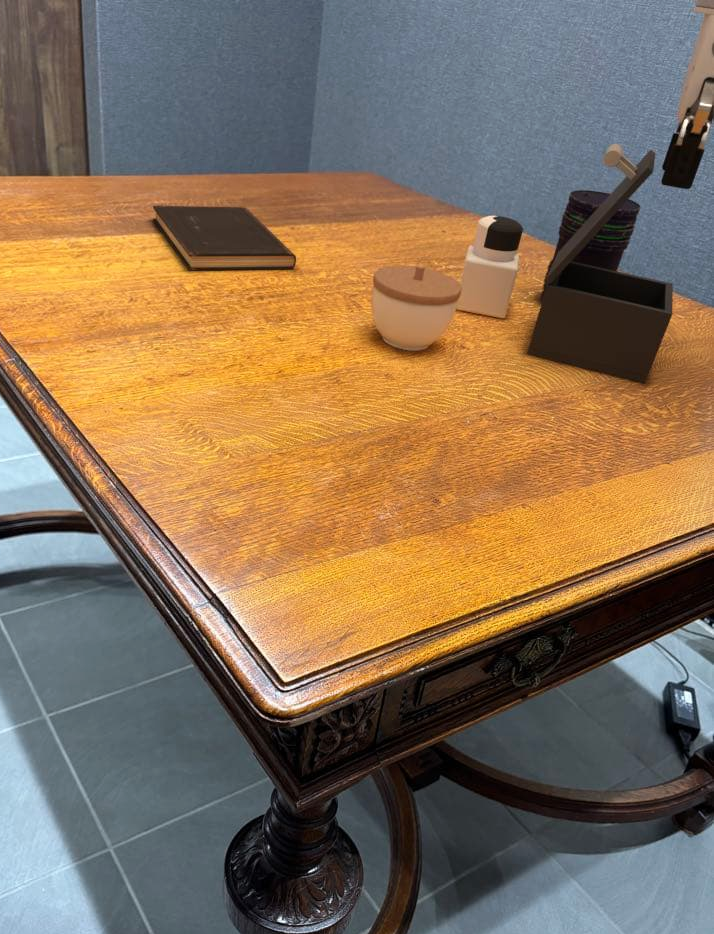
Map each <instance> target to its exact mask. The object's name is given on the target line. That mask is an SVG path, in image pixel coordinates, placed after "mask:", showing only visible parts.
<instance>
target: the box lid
mask: <svg viewBox="0 0 714 934" xmlns="http://www.w3.org/2000/svg"><path fill="white" fill-rule="evenodd" d="M623 152H624V149H623V146H622V145H620V143H613V144H611V145H609V146H608V148H607V149H606V152H605V154H604V156H603V163H604V165H605V166H606V167H608V168H614V167H616V168H617V169H618V170H619V171H620V172H621V173H622V174H624V176H625V178H624V179H623V180H622V181H621V182H620V183H618V185H617V186H616V187H615V188H614V189H613V191H612V192H611V193H609V194H610V195H609V196H608V197H607V199H606V200H605V201H604V202H603V203H602V204H601V205H600V206H599V208H598V209H597V210H596V211H595V212H594V213H593V214H592V215H591V216H590V218H589V219H588V220H587V221H586V222H585V223H584V224H583V225H582V226H581V228H580V229H579V230H578V231H577V232H576V233H575V234H574V235H573V236H572V238H571V239H570V240H569V241H568V242H567V243H566V244H565V245H564V246H563V248H562V249H561V250H560V251H559V252H558V254H557V256H556V258H555V260H554V262H553V265H552V267H551V269H550V271H549V273H548V276H547V278H546V280H547V281H548V282H549V283H552V282H553V280H554V279H555V278H556V277H557V276H558V275H559V274H560V273H561V272H562V271H563V270H564V268H565V267H566V266H567V265H568V264H569V263H570V262H571V261H572V260H573V259H574V258H575V257H576V255H577V254H578V253H579V252H580V251H581V250H582V249H583V248H584V247H585V246H586V245H587V243H588V242H589V241H590V240H591V239H592V238H593V237H594V236H595V235H596V234H597V233H598V232H599V230H600V229H601V228H602V227H603V226H604V225H605V224H606V223H607V222H608V221H609V220H610V218H611V217H612V216H613V215H614V214H615V213H616V212H617V211H618V210H619V209H620V208H621V207H622V205H623V204H624V203H625V202H626V201H627V200H628V199H630V198H631V197H632V196H633V195H634V194H635V193H636V192H637V190H638V189H639V188H640V187H641V186H642V185H643V184H644V183H645V182H646V181H647V179H649V177H650V176H651V175H652V174H653V172H654V169H655V160H656V152H655V151H654V150H652V149H650V150H649V151H648V152H647V153H646V154H645V155H644V156H643V157H642V158H641V160H639V161H638V163H637V164H636V165H635V164H634V163H632V162H631V161H630V160H629V159H628V158H627V157H626V156H624V155H623Z"/></svg>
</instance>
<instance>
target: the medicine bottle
mask: <svg viewBox="0 0 714 934" xmlns="http://www.w3.org/2000/svg"><path fill="white" fill-rule="evenodd" d="M523 233H524V227H523V225H522V224H521V223H519V221H517V220H515V219H513V218H510V217H507V216H501V215H487V216H484V217H481V218H480V219H479V220H478V222H477V227H476V231H475V235H474V240H473V243H472V245H469V246H468V248H467V252H466V256H465V260H464V264H463V268H462V273H461V276H460V277H461V278H460V281H459V284H460V285H461V287H462V291H461V295H460V298H459V299H458V304H457V307H456V311H461V312H467V313H471V314H472V313H473V314H478V315H483V316H488V317H493V318H498V319H505V318H506V317H507V312H508V309H509V306H510V301H511V297H512V294H513V291H514V286H515V283H516V279H517V275H518V273H519V262H520V261H519V259H520V255H519V254H518V250H519V248H520V243H521V239H522V235H523Z"/></svg>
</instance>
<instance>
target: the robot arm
mask: <svg viewBox="0 0 714 934" xmlns="http://www.w3.org/2000/svg"><path fill="white" fill-rule="evenodd" d="M692 13H697V14H702V15H704V16H703V20H702V23H701V26H700V28H699V32H698V35H697V38H696V41H695V43H694V47H693V51H692V53H691V57H690V60H689V64H688V66H687V70H686V74H685V78H684V80H683V83H682V84H683V85H682V88H681V92H680V97H679V102H678V107H677V110H676V111H677V112H676V118H677V120H678V124H677V127H676V130H675V132H673V133H672V137H671V139H670V142H669V145H668V148H667V151H666V154H665V156H664V160H663V164H662V167H661V168H662V171H663V173H662V174H663V175H662V177H661V182H660V183H661V185H663V186H666V187H672V188H678V189H683V190H690V189H691V188H692V186H693V184H694V181H695V178H696V175H697V174H698V170H699V168H700V164H701V161H702V159H703V156H704V153H705V148H704V147H705V145H706V142H707V138H708V136H709V131H710V129H711V125H712V123H713V122H714V0H696V3H695V6H694V8H693V11H692Z"/></svg>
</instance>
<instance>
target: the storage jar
mask: <svg viewBox="0 0 714 934" xmlns="http://www.w3.org/2000/svg"><path fill="white" fill-rule="evenodd" d="M610 194H611V193H609V192H603V191H596V190H585V189H583V190H581V189H579V190H572V191H571V192H570V193H569V196H568V202H567V204H566V206H565V211H564V212H563V214H562V217H561V223H560V226H559V228H558V239H557V243H556V247H555V250H554V253H553V257H552V259H551V260H550V261H549V263H548V265H547V271H546V273H545V276H544V279H543V283H544V284H543V286H542V292H541V293H540V295H539V301H540V303H542V300H543V297H544V294H545V290H546V287H547V284H548V281H547V280H546V278H547V276H548V273H549V271H550V269H551V267H552V265H553V262H554V260H555V258H556V256H557V254H558V252H559V251H560V250H561V249H562V248H563V246H564V245H565V244H566V243H567V242H568V241H569V240H570V239H571V238H572V236H573V235H574V234H575V233H576V232H577V231H578V230H579V229H580V228H581V226H582V225H583V224H584V223H585V222H586V221H587V220H588V219H589V218H590V216H591V215H592V214H593V213H594V212H595V211H596V210H597V209H598V208H599V206H600V205H601V204H602V203H603V202H604V201H605V200H606V199H607V197H608V196H609V195H610ZM641 207H642V206H641V205H640V204H639V203H638V202H636V201H634V200H632V199H630V198H629V199H628V200H627V201H626V202H625V203H624V204H623V205H622V207H621V208H620V209H619V210H618V211H617V212H616V213H615V214H614V215H613V216H612V217H611V218H610V220H609V221H608V222H607V223H606V224H605V225H604V226H603V227H602V228H601V229H600V230H599V232H598V233H597V234H596V235H595V236H594V237H593V238H592V239H591V240H590V241H589V242H588V243H587V245H586V246H585V247H584V248H583V249H582V250H581V251H580V252H579V253H578V254H577V255H576V257H575V258H574V259H573V260H572V261H573V262H577V263H582V264H586V265H591V266H595V267H600V268H604V269H609V270H613V271H618V269H619V266H620V264H621V261H622V258H623V254H624V251H625V250H626V249H628V246H629V244H630V240H631V237H632V236H633V233H634V230H635V228H636V227H635V224H636V222H637V219H638V217H637V216H638V214H639V213H640V210H641Z"/></svg>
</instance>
